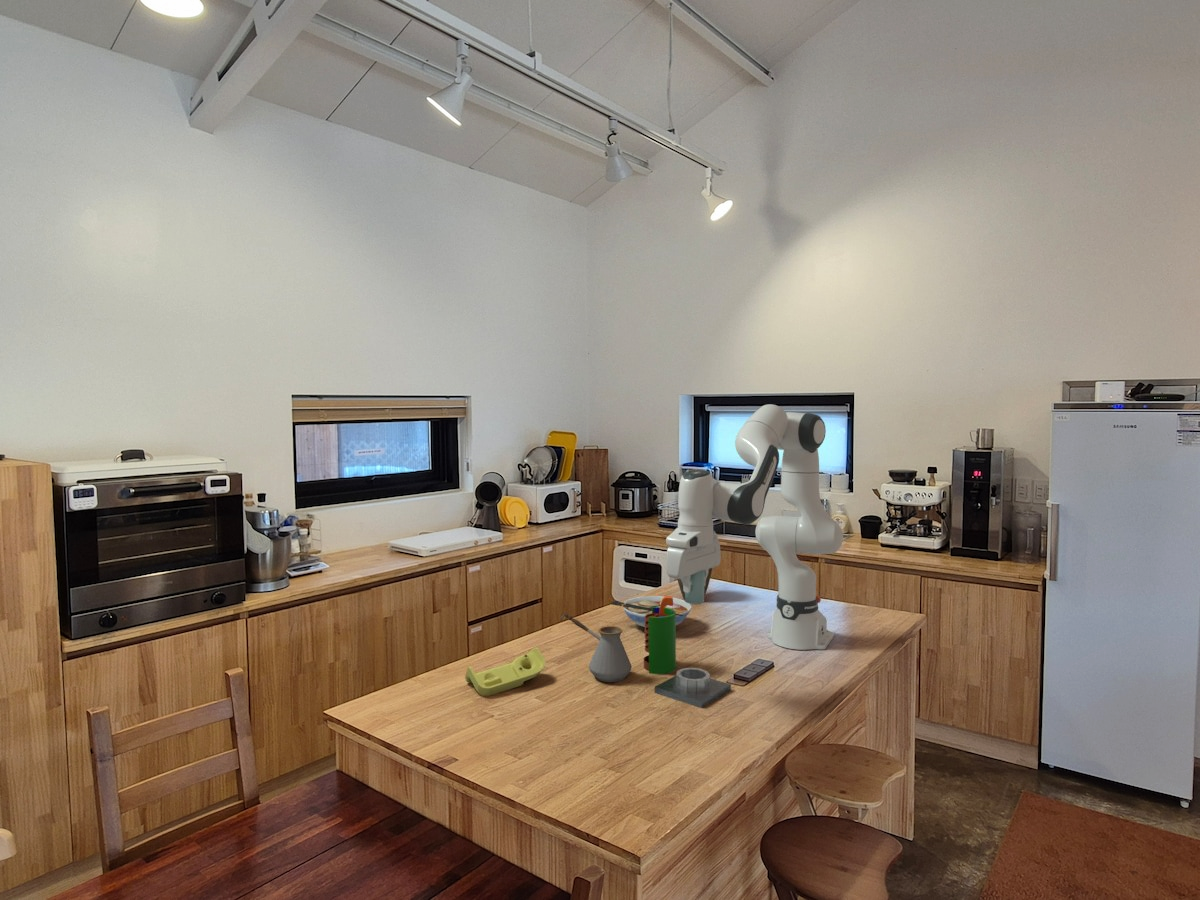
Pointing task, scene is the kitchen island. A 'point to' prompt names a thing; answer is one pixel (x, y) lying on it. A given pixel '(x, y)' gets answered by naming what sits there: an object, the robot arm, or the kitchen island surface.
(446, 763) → the kitchen island surface
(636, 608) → the ramen bowl
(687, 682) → the motor mount
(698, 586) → the capped teal cylinder
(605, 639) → the coffee pot
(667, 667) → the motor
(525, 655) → the plastic component
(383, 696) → the kitchen island surface
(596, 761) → the kitchen island surface
